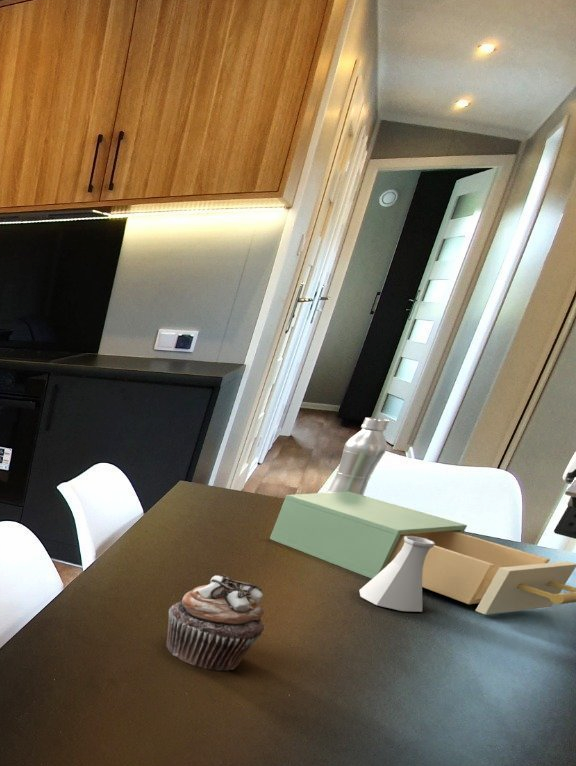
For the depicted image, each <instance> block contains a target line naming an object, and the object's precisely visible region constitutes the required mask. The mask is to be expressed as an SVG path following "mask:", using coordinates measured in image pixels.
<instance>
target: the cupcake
mask: <svg viewBox="0 0 576 766" xmlns="http://www.w3.org/2000/svg"><path fill="white" fill-rule="evenodd" d="M263 597H264V593H262V588H261V587H260V586H258V585H255V584H252V583H249V582H246V581H240V580H235V579H233V578H231V577H230V576H228V575H227V574H224V573H223V574H221V575H214V576H212V577H211V579H210V581H209V584H204V585H199V586H196V587H194V588H193V589H192V590H189V591H188V592H186V593H185V594H184V595H183V597H182V600H179V602H176V603H173V605H171V606H169V609H168V624H167V635H166V644H165V645H166V649H167V650H168V652H169V653H170V654H171V655H172V656H173V657H176V658H177V659H179V660H180V661H182V662H184V663H187V664H189V665H191V666H194V667H195V666H196V667H199V668H202V669H205V670H211V671H217V672H220V671H221V672H222V671H226V672H228V671H233V670H235V669H236V668H237V666H239V664H240V663H241V661H242V660H243V659H244V657H245V656H246V655H247V654H248V652H249V651H250V649H251V647H252V646H254V645H255V643H256V642H257V641H258V640H259V639H260V638H261V637H262V633H263V632H264V629H265V628H264V627H265V626H264V623H263V621H262V617H263V616H264V614H265V609H264V607H263V606H262V604H261V603H260V602H261V601H262V599H263Z"/></svg>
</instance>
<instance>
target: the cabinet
mask: <svg viewBox="0 0 576 766" xmlns="http://www.w3.org/2000/svg"><path fill="white" fill-rule="evenodd" d="M467 527H468V524H465V523H461V522H458V521H455V520H451V519H447V518H443V517H440V516H437V515H433V514H430V513H425V512H422V511H419V510H416V509H413V508H409V507H404V506H401V505H398V504H394V503H391V502H387V501H384V500H380V499H377V498H374V497H370V496H365V495H364V496H363V495H359V494H356V493H352V492H331V493H326V492H315V493H313V492H312V493H298V494H296V493H295V494H286V496H285V499H284V500H283V503H282V506H281V509H280V511H279V513H278V516H277V518H276V521H275V524H274V526H273V529H272V532H271V533H270V537H269V540H271V541H273V542H276V543H277V544H281V545H284V546H286V547H289V548H291V549H294V550H297V551H299V552H302V553H305V554H307V555H310V556H312V557H315V558H317V559H320V560H321V561H325V562H327V563H330V564H332V565H335V566H337V567H340V568H343V569H346V570H347V571H350V572H353V573H356V574H358V575H360V576H363V577H366V578H368V579H370V580H372V579H373V578H374V577H375V576H376V575H378V574H379V573H380V572H381V571H382V570H383V569H384V568H385V566H386V564H387V562H388V560H389V558H390V556H391V554H392V552H393V549H394V547H395V545H396V543H397V541H398V539H399V537H400V535H401V534H414V533H427V532H440V531H456V532H460V533H463V534H465V531H466V529H467Z"/></svg>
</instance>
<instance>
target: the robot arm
mask: <svg viewBox="0 0 576 766" xmlns="http://www.w3.org/2000/svg"><path fill="white" fill-rule="evenodd" d="M562 480H563V482H565V483H566V484H568V485H569V486H568V487H567V488H566V490H565V492H564V495H566V496H568V497H570V498H569V499H568V502H567V506H566V509H565V510H564V512H563V514H562V515H561V518H560V519H559V521H558V523H557V524H556V526H555V527H554V529H553V533H554V534H555V535H559V536H564V537H567V538H571V539H574V540H576V451H575V452H574V453H573V455H572V457H571V458H570V461H569V462H568V464H567V466H566V468H565V470H564V472H563V475H562Z"/></svg>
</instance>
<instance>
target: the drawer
mask: <svg viewBox="0 0 576 766" xmlns="http://www.w3.org/2000/svg"><path fill="white" fill-rule="evenodd" d="M405 536H415V537H420V538H426V539H428V540H431V541H433V542H434V543H435V545H434V547H432V548H430V549H429V551H428V553H427V555H426V557H425V561H424V566H423V574H422V588H424V589H426V590H429V591H432V592H435V593H437V594H439V595H443V596H445V597H448V598H451V599H453V600H455V601H459V602H462V603H463V604H466V605H475V604H478V605H477V607H476V608H475V612H478V613H479V614H483V615H485V616H486V615H494V614H501V613H511V612H519V611H526V610H537V609H544V608H552V607H553V604H554V605H565V604H572V603H576V587H574V586H571V585H569V584H567V582H568V580H569V579H570V577H571V576H572V574H573V573H574V571H575V570H576V563H574V562H571V561H568V560H564V561H563V560H562V561H555V562H554V561H553V562H550V561H551V560H550V558H548V557H545V556H541V555H538V554H534V553H531V552H527V551H524V550H520V549H517V548H514V547H510V546H507V545H504V544H500V543H496V542H493V541H490V540H486V539H483V538H480V537H476V536H474V535H470V534H467V533H460V532H456V531H440V532H427V533H414V534H401V535H400V537H399V539H398V541H397V543H396V545H395V547H394V549H393V552H392V554H391V556H390V558H389V560H388V562H387V564H386V566H387V565H388V564H389V563H391V562H392V561H393V560H394V558H395V557H396V556H397V555H398V553H399V552H400V551H401V549H402V547H403V545H404V543H405V541H404V537H405ZM386 566H385V567H386ZM562 590H563V591H565V592H562Z"/></svg>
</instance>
